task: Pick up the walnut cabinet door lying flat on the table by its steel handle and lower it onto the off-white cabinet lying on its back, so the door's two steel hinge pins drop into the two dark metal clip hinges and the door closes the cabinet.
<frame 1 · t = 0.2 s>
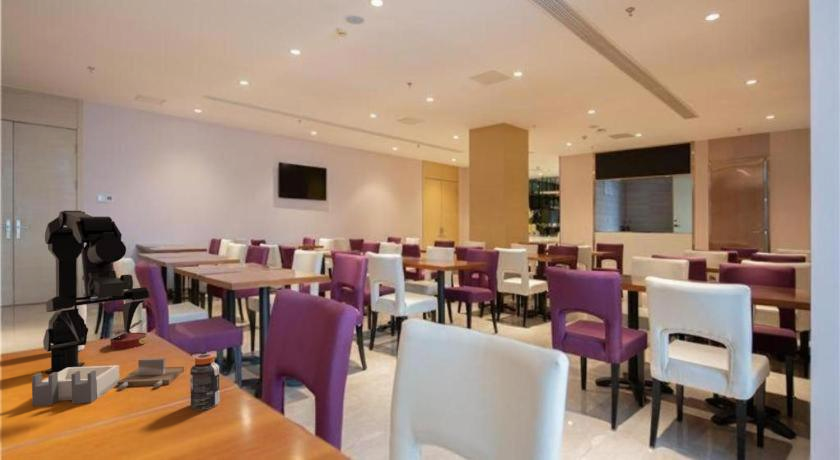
hand: (104, 336, 100), 15 cm above the table, tool pointing down, fingers open, 9 cm apart
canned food: (128, 346, 145), on the table
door: (152, 378, 116), on the table
pill bottle: (205, 405, 100), on the table
cabinet: (81, 391, 107), on the table
drinking glass: (74, 351, 139), on the table
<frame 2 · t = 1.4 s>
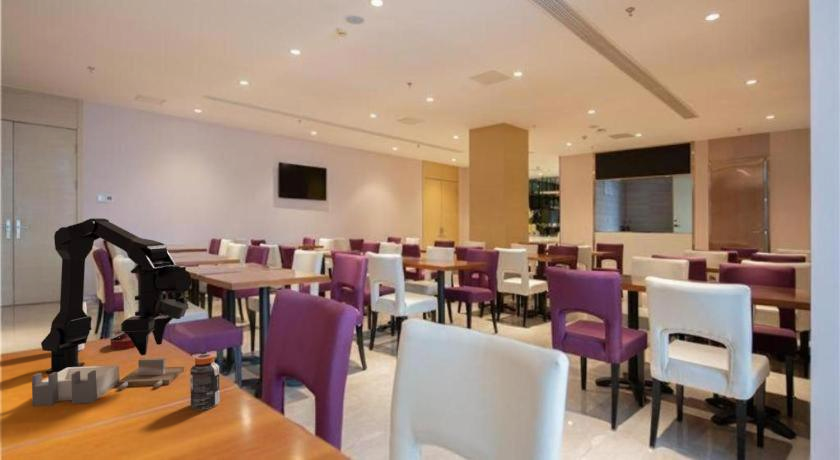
hand: (151, 349, 115), 8 cm above the table, tool pointing down, fingers open, 9 cm apart
nothing on the table moved.
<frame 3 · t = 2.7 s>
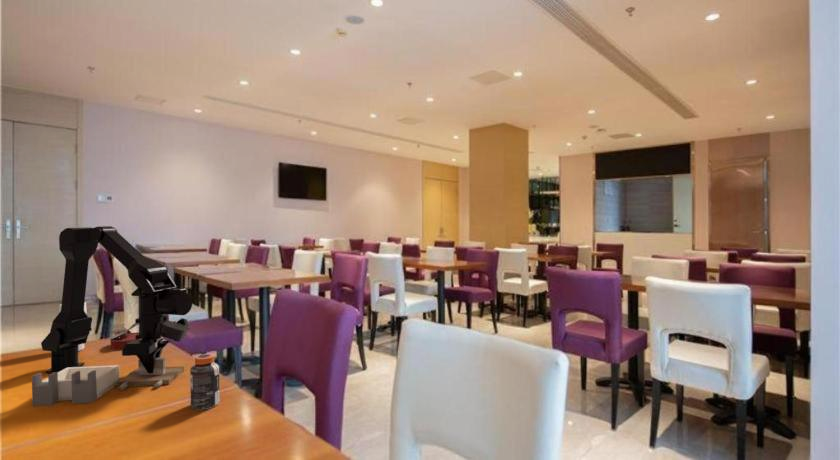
hand: (152, 371, 116), 2 cm above the table, tool pointing down, fingers closed on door
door: (152, 378, 116), on the table, touching gripper
everything else where it was.
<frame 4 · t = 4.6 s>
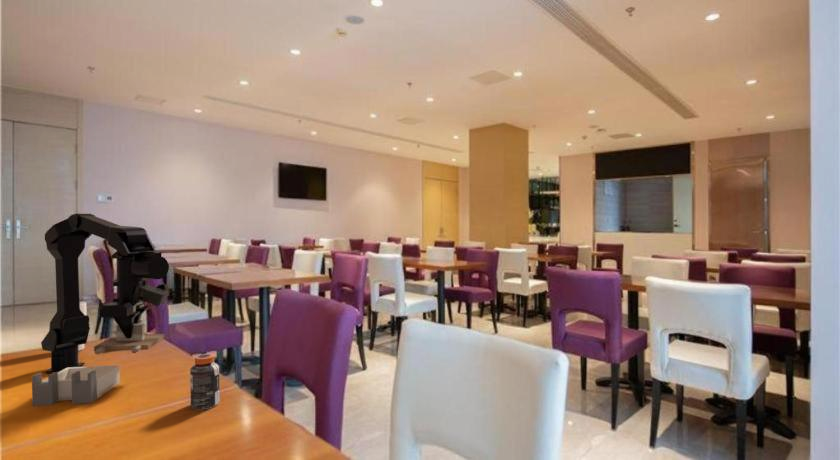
hand: (130, 337, 113), 12 cm above the table, tool pointing down, fingers closed on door
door: (131, 344, 113), point 10 cm above the table, touching gripper
everything else where it was.
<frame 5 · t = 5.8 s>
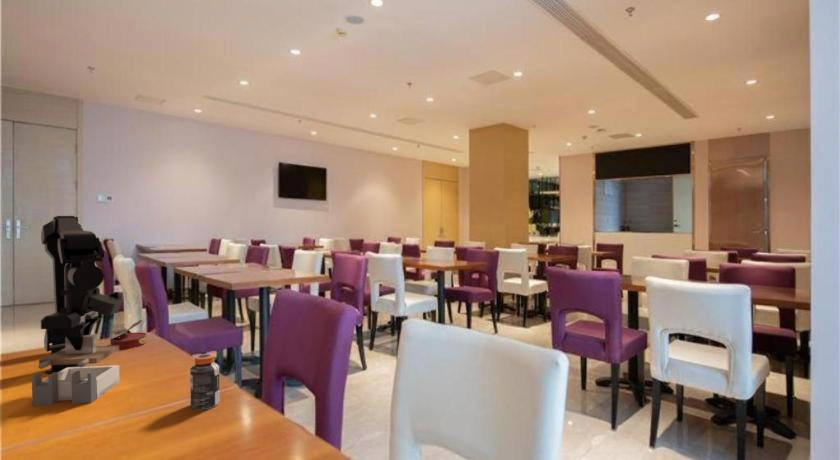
hand: (80, 348, 106), 10 cm above the table, tool pointing down, fingers closed on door
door: (81, 357, 106), point 8 cm above the table, touching gripper
everything else where it was.
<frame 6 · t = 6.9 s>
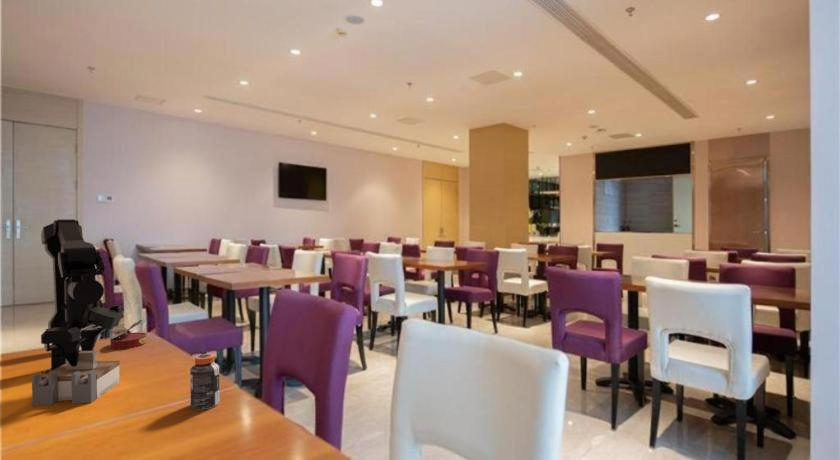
hand: (81, 362, 106), 7 cm above the table, tool pointing down, fingers open, 5 cm apart
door: (81, 373, 107), point 4 cm above the table, touching cabinet
everything else where it was.
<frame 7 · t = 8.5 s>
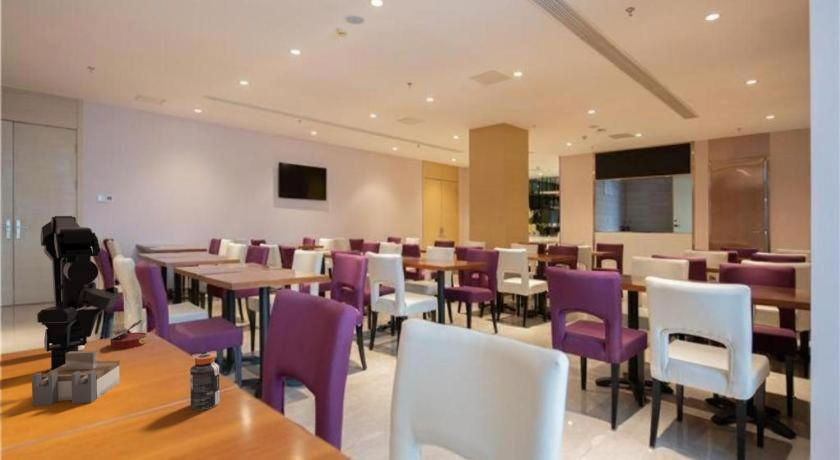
hand: (77, 342, 108), 12 cm above the table, tool pointing down, fingers open, 9 cm apart
nothing on the table moved.
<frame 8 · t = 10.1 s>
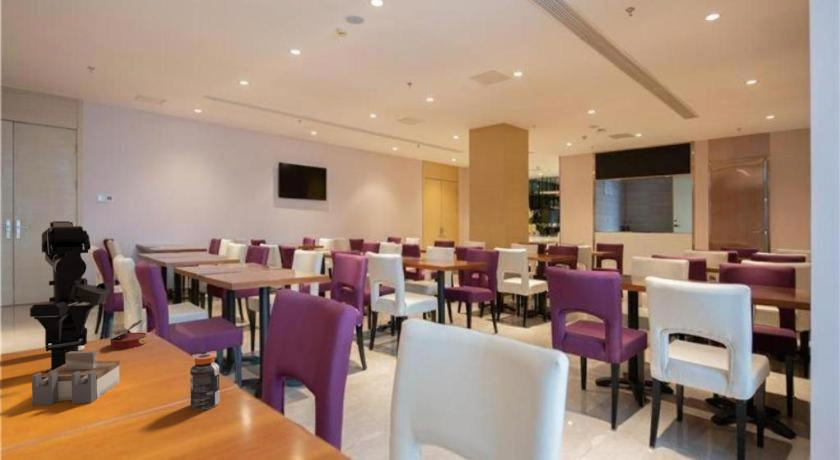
hand: (69, 336, 111), 12 cm above the table, tool pointing down, fingers open, 9 cm apart
nothing on the table moved.
at the end: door 0.0 cm off-centre on the cabinet, point 4.5 cm above the cabinet's base; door tilted 0°; the gripper is holding nothing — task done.
